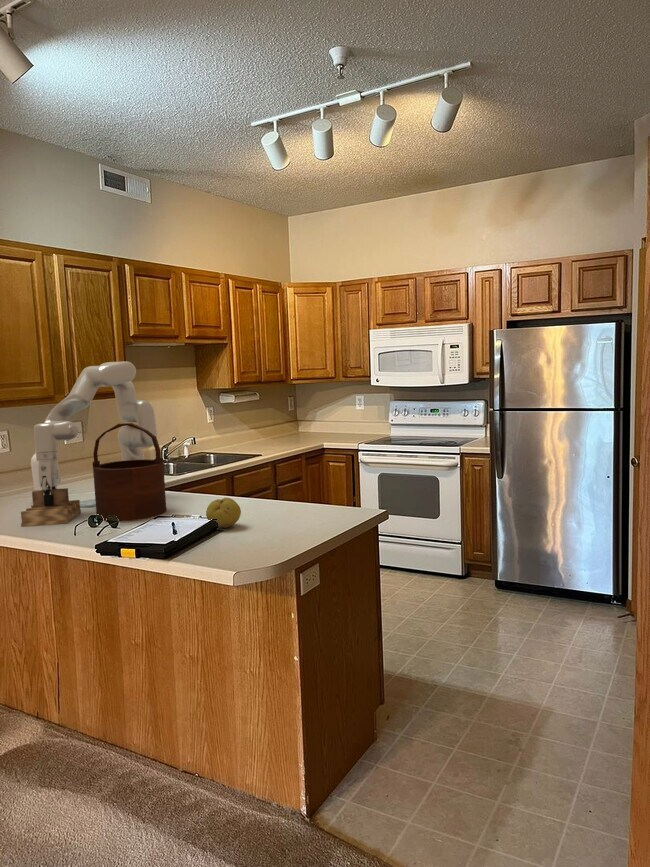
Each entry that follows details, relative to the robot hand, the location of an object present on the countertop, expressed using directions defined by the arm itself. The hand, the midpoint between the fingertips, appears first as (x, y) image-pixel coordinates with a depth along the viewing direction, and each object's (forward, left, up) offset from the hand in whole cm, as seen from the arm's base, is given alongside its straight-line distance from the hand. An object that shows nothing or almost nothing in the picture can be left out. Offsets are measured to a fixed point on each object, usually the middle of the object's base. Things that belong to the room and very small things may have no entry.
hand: (51, 503), depth 231 cm
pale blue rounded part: (-8, -24, -6) cm, 26 cm away
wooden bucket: (-29, -2, -6) cm, 30 cm away
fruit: (-66, +30, -6) cm, 73 cm away
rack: (0, 0, -6) cm, 6 cm away
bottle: (+15, -36, -6) cm, 39 cm away
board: (0, 0, -5) cm, 5 cm away
